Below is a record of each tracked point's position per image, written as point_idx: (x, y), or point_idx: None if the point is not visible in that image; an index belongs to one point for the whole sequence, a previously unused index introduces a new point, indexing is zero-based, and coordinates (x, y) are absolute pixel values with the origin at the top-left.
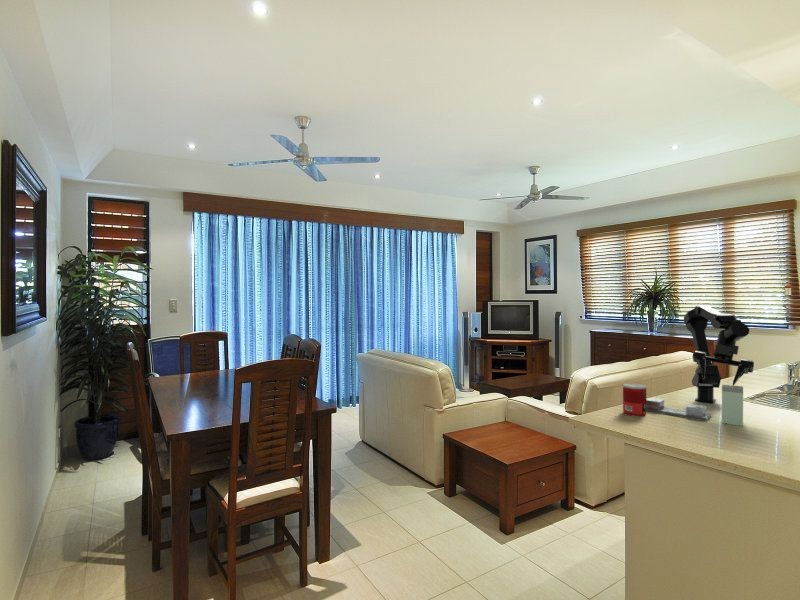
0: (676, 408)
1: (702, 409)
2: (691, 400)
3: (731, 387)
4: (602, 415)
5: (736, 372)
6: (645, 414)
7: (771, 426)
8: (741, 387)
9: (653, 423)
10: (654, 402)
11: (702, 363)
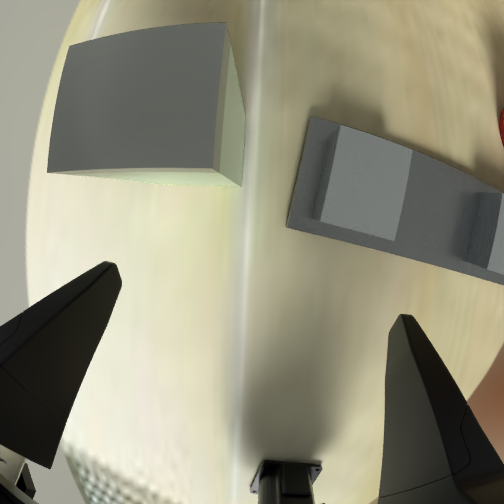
0: (427, 260)
1: (338, 132)
2: (331, 465)
3: (141, 47)
4: None
5: (9, 352)
6: (500, 127)
7: (74, 184)
8: (63, 107)
9: (456, 27)
10: None
11: (491, 485)
